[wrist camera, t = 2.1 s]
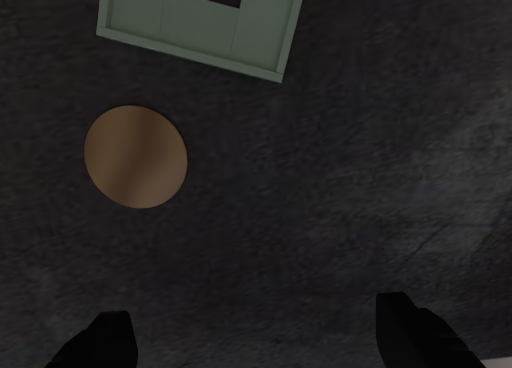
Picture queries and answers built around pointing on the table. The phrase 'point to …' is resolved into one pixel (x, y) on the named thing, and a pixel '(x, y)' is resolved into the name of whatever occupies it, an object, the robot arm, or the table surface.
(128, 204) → the coaster
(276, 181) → the table surface
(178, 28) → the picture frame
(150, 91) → the table surface
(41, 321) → the table surface
